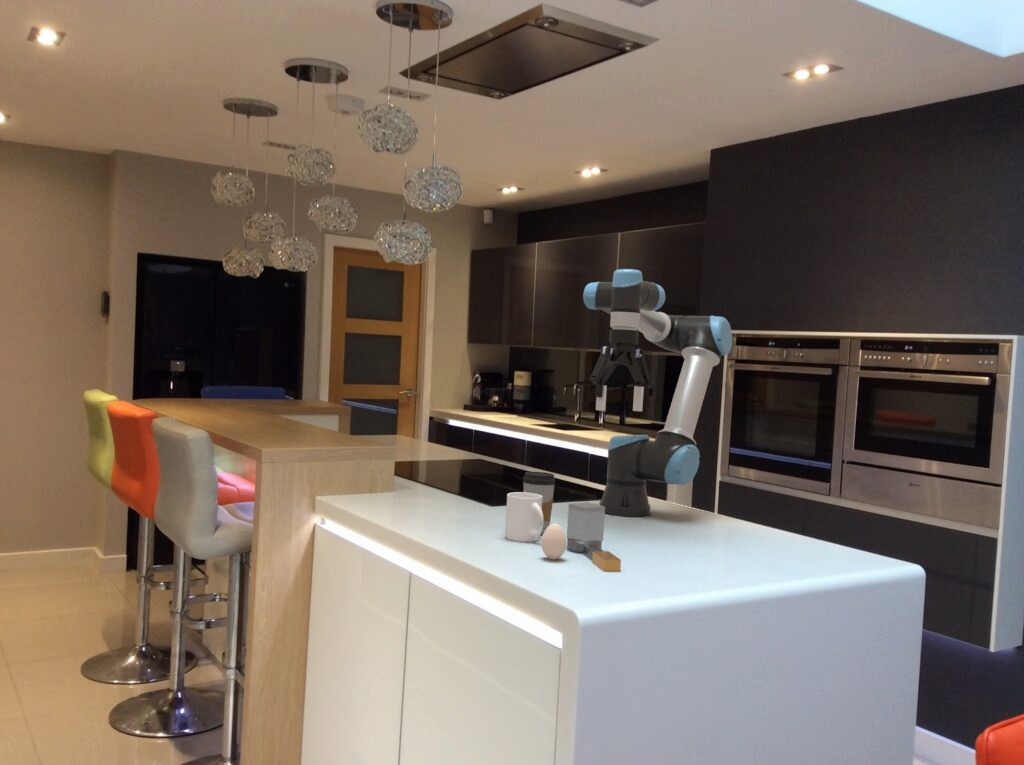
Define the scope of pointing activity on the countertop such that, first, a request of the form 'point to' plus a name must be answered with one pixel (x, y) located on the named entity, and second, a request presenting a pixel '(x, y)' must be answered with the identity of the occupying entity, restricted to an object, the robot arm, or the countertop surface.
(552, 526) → the egg
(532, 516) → the mug
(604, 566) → the ratchet
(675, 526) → the countertop surface
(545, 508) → the coffee cup
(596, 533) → the grey rectangular block
